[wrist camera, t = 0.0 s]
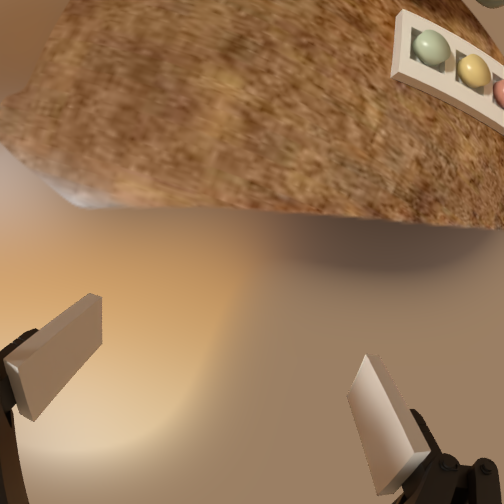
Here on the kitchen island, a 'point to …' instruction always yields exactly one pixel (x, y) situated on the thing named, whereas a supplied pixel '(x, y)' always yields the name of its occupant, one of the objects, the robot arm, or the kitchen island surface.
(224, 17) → the kitchen island surface
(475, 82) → the ochre button
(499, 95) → the brick button
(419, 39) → the sage button
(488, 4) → the cup
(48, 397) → the robot arm
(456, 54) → the panel
